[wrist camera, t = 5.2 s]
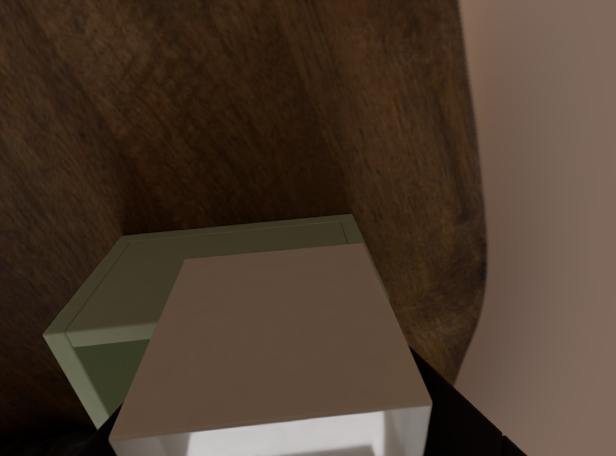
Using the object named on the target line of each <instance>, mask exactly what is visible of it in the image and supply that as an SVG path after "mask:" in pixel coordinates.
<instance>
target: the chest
mask: <svg viewBox="0 0 616 456" xmlns="http://www.w3.org/2000/svg"><path fill="white" fill-rule="evenodd" d="M353 243H363V244H364V246H365V248H366V250H367V253H368V255H369V257H370V260H371V262H372V264H373V266H374V269H375V271H376V273H377V276H378V278H379V280H380V283H381V285H382V287H383V289H384V292H385V294H386V296H387V299H388V301H389V296H388V294H387V292H386V289H385V287H384V285H383V283H382V280H381V278H380V276H379V274H378V271H377V269H376V267H375V265H374V262H373V260H372V258H371V256H370V253H369V251H368V249H367V247H366V244H365V242H364V240H363V238H362V235H361V233H360V231H359V229H358V226H357V224H356V222H355V220H354V218H353V215H352V214H344V215H333V216H323V217H313V218H302V219H292V220H281V221H271V222H261V223H250V224H240V225H229V226H219V227H209V228H198V229H188V230H178V231H167V232H157V233H146V234H136V235H126V236H121V237H120V239H119V240H118V241H117V242H116V244H115V245H114V246H113V248H112V249H111V250H110V251H109V252H108V254H107V255H106V256H105V257H104V259H103V260H102V261H101V262H100V264H99V265H98V266H97V267H96V269H95V270H94V271H93V272H92V274H91V275H90V276H89V277H88V279H87V280H86V281H85V282H84V284H83V285H82V286H81V287H80V289H79V290H78V291H77V292H76V293H75V295H74V296H73V297H72V298H71V300H70V301H69V302H68V303H67V305H66V306H65V307H64V308H63V310H62V311H61V312H60V313H59V315H58V316H57V317H56V318H55V320H54V321H53V322H52V323H51V325H50V326H49V327H48V328H47V330H46V331H45V332H44V333H43V337H44V339H45V340H46V342H47V344H48V345H49V347H50V349H51V351H52V352H53V354H54V356H55V358H56V359H57V361H58V363H59V364H60V366H61V368H62V370H63V371H64V373H65V375H66V376H67V378H68V380H69V382H70V383H71V385H72V387H73V389H74V390H75V392H76V394H77V395H78V397H79V399H80V401H81V402H82V404H83V406H84V408H85V409H86V411H87V413H88V414H89V416H90V418H91V420H92V421H93V423H94V425H95V427H96V428H97V430H98V429H99V428H100V427H101V426H102V424H103V423H104V422H105V421H106V420H107V419H108V418H109V417H110V416H111V415H112V413H113V412H114V411H115V410H116V409H117V408H118V407H119V406H120V405H121V404H122V403H123V401H124V400H125V398H126V396H127V393H128V391H129V388H130V386H131V384H132V381H133V379H134V377H135V374H136V372H137V370H138V367H139V365H140V363H141V360H142V358H143V356H144V353H145V351H146V349H147V346H148V344H149V342H150V339H151V337H152V335H153V332H154V330H155V328H156V325H157V323H158V320H159V318H160V316H161V313H162V311H163V309H164V306H165V304H166V302H167V299H168V297H169V295H170V292H171V290H172V288H173V285H174V283H175V281H176V278H177V276H178V274H179V271H180V269H181V267H182V264H183V262H184V260H185V259H190V258H201V257H212V256H223V255H233V254H244V253H255V252H266V251H277V250H288V249H299V248H310V247H321V246H332V245H343V244H353Z"/></svg>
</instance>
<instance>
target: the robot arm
mask: <svg viewBox="0 0 616 456" xmlns="http://www.w3.org/2000/svg"><path fill="white" fill-rule="evenodd" d="M407 345H408V344H407ZM408 347H409V349H410V351H411V354H412V356H413V358H414V361H415V363H416V365H417V367H418V370H419V372H420V374H421V377H422V379H423V381H424V384H425V386H426V388H427V390H428V393H429V395H430V397H431V400H432V402H433V405H432V411H431V416H430V422H429V428H428V434H427V440H426V446H425V451H424V456H527V455H526V454H525V453H524V452H522V451H521V450H520V449H519V448H518V447H517V446H516V445H515V444H514V443H513V442H512V441H511V440H510V439H509V438H508V437H507V436H502V432H501V431H500V430H499V429H498V428H497V427H496V426H495V425H493V424H492V423H491V422H490V421H489V420H488V419H487V418H486V417H485V416H484V415H483V414H482V413H481V412H480V411H478V410H477V409H476V408H475V407H474V406H473V405H472V404H471V403H470V402H469V401H468V400H467V399H466V398H465V397H464V396H462V395H461V394H460V393H459V392H458V391H457V390H456V389H455V388H454V387H453V386H452V385H451V384H450V383H449V382H448V381H446V380H445V379H444V378H443V377H442V376H441V375H440V374H439V373H438V372H437V371H436V370H435V369H434V368H433V367H431V366H430V365H429V364H428V363H427V362H426V361H425V360H424V359H423V358H422V357H421V356H420V355H419V354H418V353H416V352H415V351H414V350H413V349H412V348H411V347H410V346H409V345H408ZM123 403H124V401H123ZM123 403H122V404H121V405H120V406H119V407H118V408H117V409H116V410H115V411H114V412H113V413H112V415H111V416H110V417H109V418H108V419H107V420H106V421H105V422H104V423H103V424H102V426H101V427H100V428H99V429H98V430H97V431H96V432H95V433H94V434H93V435H92V436H91V438H90V439H89V440H88V441H87V442H86V443H85V444H84V445H83V446H82V447H81V449H80V450H79V451H78V452H77V453H76V454H75V455H74V456H117V455H116V454H115V452H114V450H113V448H112V446H111V444H110V443H109V435H110V433H111V431H112V428H113V426H114V424H115V421H116V419H117V417H118V414H119V412H120V410H121V407H122V405H123Z"/></svg>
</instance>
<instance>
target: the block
mask: <svg viewBox="0 0 616 456" xmlns="http://www.w3.org/2000/svg"><path fill="white" fill-rule="evenodd" d="M432 405H433V402H432V400H431V397H430V395H429V393H428V390H427V388H426V386H425V384H424V381H423V379H422V377H421V374H420V372H419V370H418V367H417V365H416V363H415V361H414V358H413V356H412V354H411V351H410V349H409V347H408V345H407V342H406V340H405V338H404V335H403V333H402V331H401V328H400V326H399V324H398V322H397V319H396V317H395V315H394V312H393V310H392V308H391V305H390V303H389V301H388V299H387V296H386V294H385V292H384V289H383V287H382V285H381V283H380V280H379V278H378V276H377V273H376V271H375V269H374V266H373V264H372V262H371V260H370V257H369V255H368V253H367V250H366V248H365V246H364V244H363V243H353V244H343V245H332V246H321V247H310V248H299V249H288V250H277V251H266V252H255V253H244V254H233V255H223V256H212V257H201V258H190V259H185V260H184V262H183V264H182V267H181V269H180V271H179V274H178V276H177V278H176V281H175V283H174V285H173V288H172V290H171V292H170V295H169V297H168V299H167V302H166V304H165V306H164V309H163V311H162V313H161V316H160V318H159V320H158V323H157V325H156V328H155V330H154V332H153V335H152V337H151V339H150V342H149V344H148V346H147V349H146V351H145V353H144V356H143V358H142V360H141V363H140V365H139V367H138V370H137V372H136V374H135V377H134V379H133V381H132V384H131V386H130V388H129V391H128V393H127V396H126V398H125V400H124V403H123V405H122V407H121V410H120V412H119V414H118V417H117V419H116V421H115V424H114V426H113V428H112V431H111V433H110V435H109V443H110V444H111V446H112V448H113V450H114V452H115V454H116V455H117V456H424V451H425V446H426V440H427V434H428V428H429V422H430V416H431V411H432Z"/></svg>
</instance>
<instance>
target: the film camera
mask: <svg viewBox="0 0 616 456" xmlns="http://www.w3.org/2000/svg"><path fill="white" fill-rule="evenodd" d="M93 434H94V433H92V432H89V431H86V430H83V431H77V432H72V433H70V434H67V435H66V436H65V435H60V436H56V437H52V438H50V439H48V440H45V441H43V442H41V441H38V440H36V439H32V438H28V437H20V438H17V439H15V440H13V441H11V442H9V443H4V442H5V441H3V440H1V439H0V456H74V455H75V454H76V453H77V452H78V451H79V450H80V449H81V447H82V446H83V445H84V444H85V443H86V442H87V441H88V440H89V439H90V438H91V436H92V435H93Z"/></svg>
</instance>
